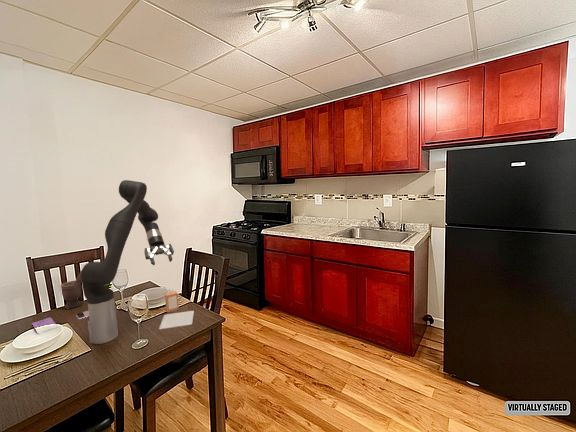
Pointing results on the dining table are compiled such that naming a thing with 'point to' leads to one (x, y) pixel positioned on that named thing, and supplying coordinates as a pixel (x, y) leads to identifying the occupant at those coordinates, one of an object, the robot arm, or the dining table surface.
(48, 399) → the dining table surface
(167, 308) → the card box
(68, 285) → the mortar and pestle
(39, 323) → the sponges
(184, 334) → the dining table surface
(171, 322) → the mat
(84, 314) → the mobile phone
